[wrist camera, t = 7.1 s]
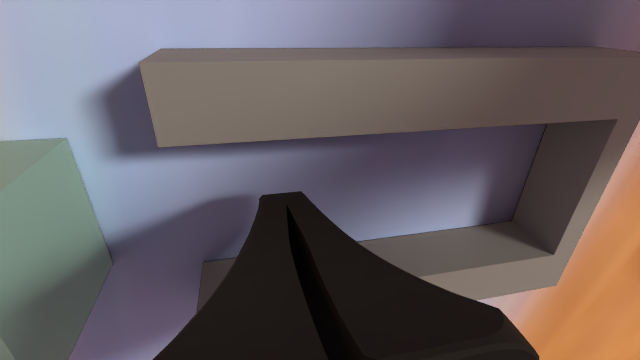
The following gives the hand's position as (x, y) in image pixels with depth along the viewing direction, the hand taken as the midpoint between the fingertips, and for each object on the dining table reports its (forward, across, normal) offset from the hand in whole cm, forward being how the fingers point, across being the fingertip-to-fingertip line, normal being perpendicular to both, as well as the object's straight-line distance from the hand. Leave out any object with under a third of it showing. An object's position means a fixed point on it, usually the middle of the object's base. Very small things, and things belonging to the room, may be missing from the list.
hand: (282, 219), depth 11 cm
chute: (+2, -4, 0) cm, 4 cm away
